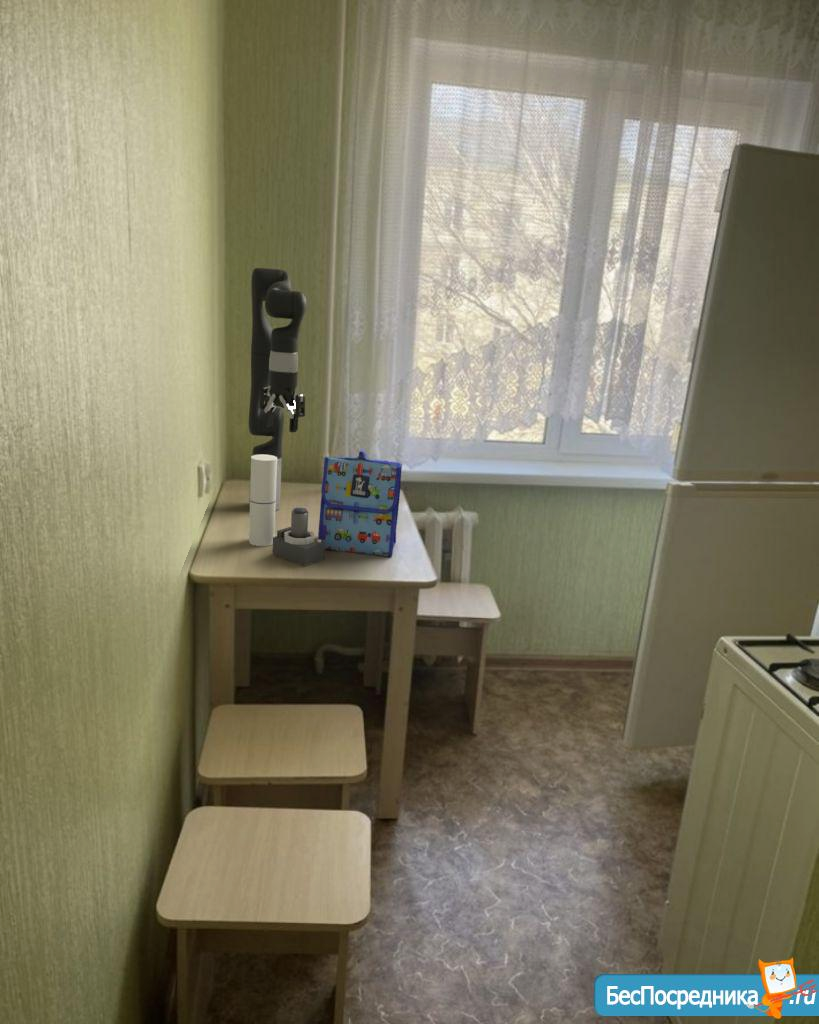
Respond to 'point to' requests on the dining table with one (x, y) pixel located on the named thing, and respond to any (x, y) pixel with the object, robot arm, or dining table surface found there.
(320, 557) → the camera body
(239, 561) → the dining table surface
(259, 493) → the cylindrical container
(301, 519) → the lens
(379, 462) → the lunch bag
